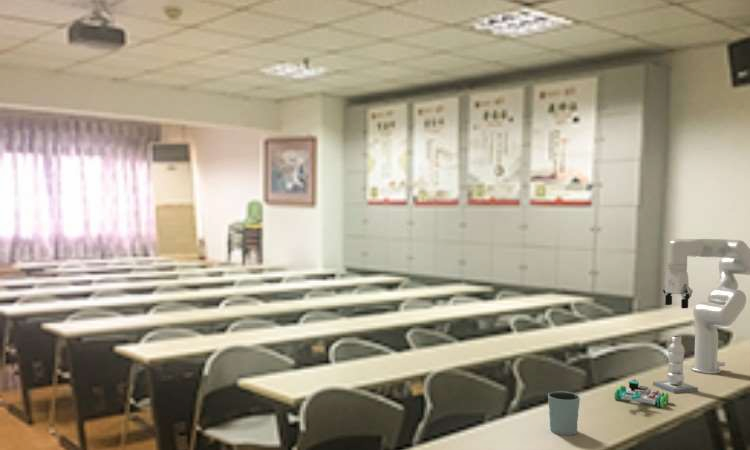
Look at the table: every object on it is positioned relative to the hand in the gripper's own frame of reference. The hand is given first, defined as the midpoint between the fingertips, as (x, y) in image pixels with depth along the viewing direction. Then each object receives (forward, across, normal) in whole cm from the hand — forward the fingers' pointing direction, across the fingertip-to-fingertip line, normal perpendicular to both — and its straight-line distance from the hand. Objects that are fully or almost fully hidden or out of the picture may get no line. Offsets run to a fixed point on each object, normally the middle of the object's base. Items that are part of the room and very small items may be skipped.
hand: (676, 306), depth 291 cm
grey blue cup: (+32, +50, -90) cm, 108 cm away
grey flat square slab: (+31, +16, -14) cm, 38 cm away
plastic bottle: (+30, +16, -14) cm, 37 cm away
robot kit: (+32, +31, -44) cm, 63 cm away
